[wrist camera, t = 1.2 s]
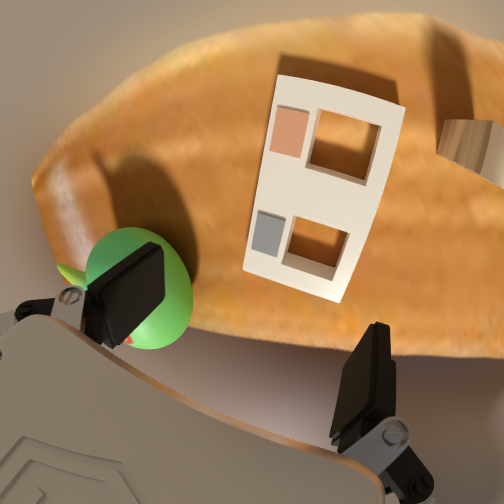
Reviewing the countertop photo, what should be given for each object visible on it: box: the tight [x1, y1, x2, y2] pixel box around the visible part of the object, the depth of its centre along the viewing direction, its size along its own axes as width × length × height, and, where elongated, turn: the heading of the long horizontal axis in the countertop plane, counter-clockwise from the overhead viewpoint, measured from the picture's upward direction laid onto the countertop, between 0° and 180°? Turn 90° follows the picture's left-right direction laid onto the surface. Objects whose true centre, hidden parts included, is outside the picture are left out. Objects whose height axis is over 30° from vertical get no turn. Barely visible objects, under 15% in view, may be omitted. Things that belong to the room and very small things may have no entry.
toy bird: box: [57, 227, 193, 349], centre depth 36 cm, size 18×17×15 cm
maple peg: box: [437, 119, 504, 189], centre depth 15 cm, size 4×4×11 cm
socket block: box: [243, 74, 405, 303], centre depth 26 cm, size 12×22×3 cm, turn 170°
